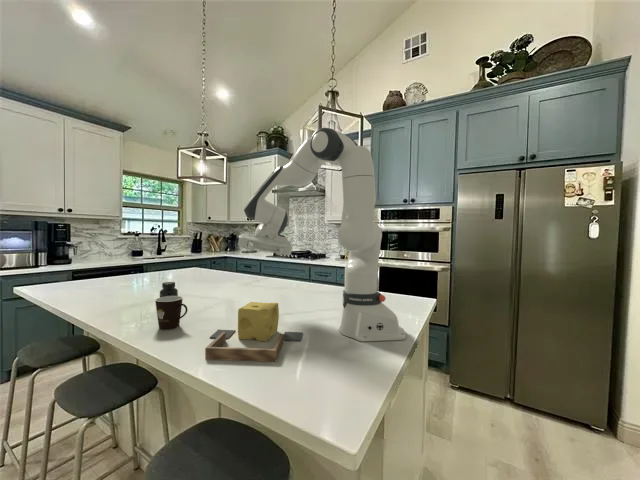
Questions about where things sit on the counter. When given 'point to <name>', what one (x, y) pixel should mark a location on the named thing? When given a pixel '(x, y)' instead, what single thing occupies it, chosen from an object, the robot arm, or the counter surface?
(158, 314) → the coffee mug
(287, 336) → the pads
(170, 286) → the supplement bottle
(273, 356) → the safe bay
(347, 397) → the counter surface
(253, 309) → the cheese
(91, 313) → the counter surface
